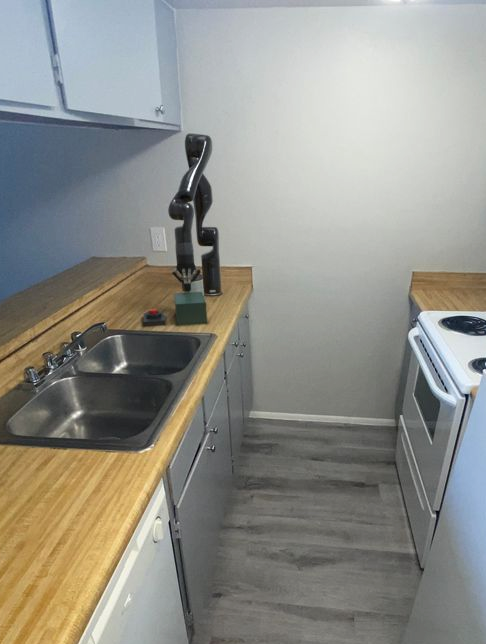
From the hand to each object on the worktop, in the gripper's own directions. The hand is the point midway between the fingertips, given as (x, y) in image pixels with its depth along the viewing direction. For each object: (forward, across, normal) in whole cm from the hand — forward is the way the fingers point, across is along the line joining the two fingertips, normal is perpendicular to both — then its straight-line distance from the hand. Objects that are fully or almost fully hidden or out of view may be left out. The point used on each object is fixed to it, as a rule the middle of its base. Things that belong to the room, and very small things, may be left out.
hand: (187, 291), depth 212 cm
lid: (+2, 0, +6) cm, 7 cm away
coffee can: (+11, -3, -13) cm, 17 cm away
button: (+7, +16, +7) cm, 19 cm away
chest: (+11, 0, +7) cm, 13 cm away
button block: (+11, +16, +7) cm, 20 cm away
